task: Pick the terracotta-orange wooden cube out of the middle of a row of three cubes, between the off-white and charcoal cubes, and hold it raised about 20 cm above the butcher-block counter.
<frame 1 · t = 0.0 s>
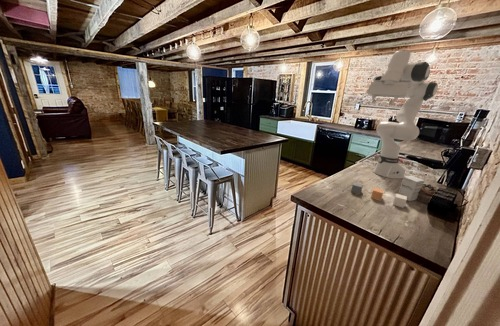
hand: (381, 103, 116), 52 cm above the countertop, tool tilted 20°, fingers open, 8 cm apart
charcoal cube: (356, 191, 124), on the countertop
cupcake: (423, 200, 118), on the countertop, touching supplement box
terracotta cube: (376, 197, 118), on the countertop
supplement box: (407, 197, 121), on the countertop, touching cupcake
offwhite cube: (398, 204, 112), on the countertop
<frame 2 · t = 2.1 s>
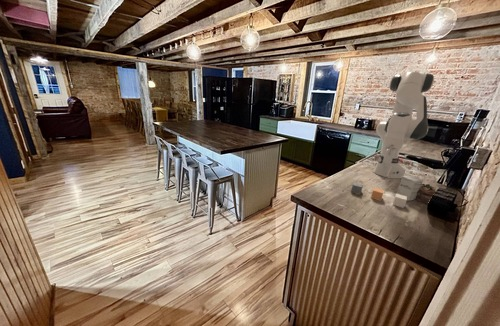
hand: (385, 167, 112), 19 cm above the countertop, tool pointing down, fingers open, 8 cm apart
supplement box: (405, 197, 121), on the countertop, touching cupcake
everything else where it was.
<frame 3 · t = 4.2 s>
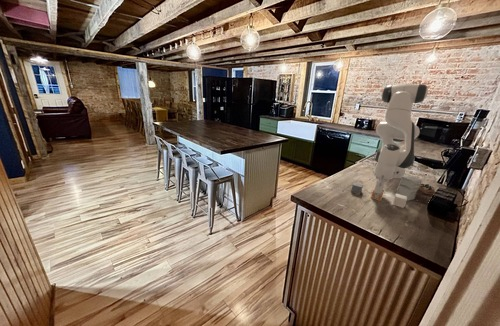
hand: (376, 195, 118), 2 cm above the countertop, tool pointing down, fingers closed on terracotta cube, 5 cm apart
terracotta cube: (376, 197, 118), on the countertop, touching gripper
supplement box: (405, 197, 121), on the countertop, touching cupcake
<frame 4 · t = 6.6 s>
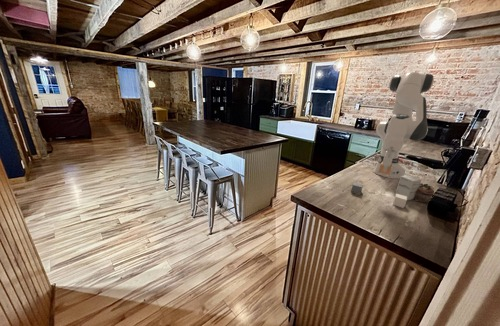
hand: (384, 169, 112), 18 cm above the countertop, tool pointing down, fingers closed on terracotta cube, 5 cm apart
terracotta cube: (384, 172, 113), point 16 cm above the countertop, touching gripper
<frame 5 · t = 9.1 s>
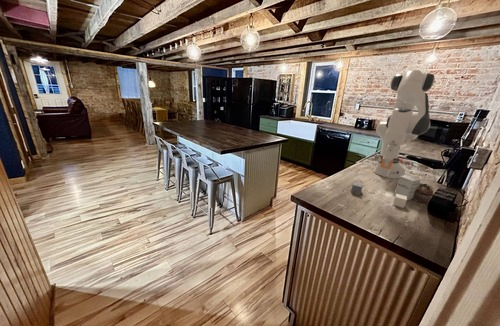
hand: (386, 164, 111), 21 cm above the countertop, tool pointing down, fingers closed on terracotta cube, 5 cm apart
terracotta cube: (385, 166, 112), point 19 cm above the countertop, touching gripper
at the end: terracotta cube point 19.4 cm above the countertop; offwhite cube moved 0.1 cm from its start; charcoal cube moved 0.1 cm from its start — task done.
